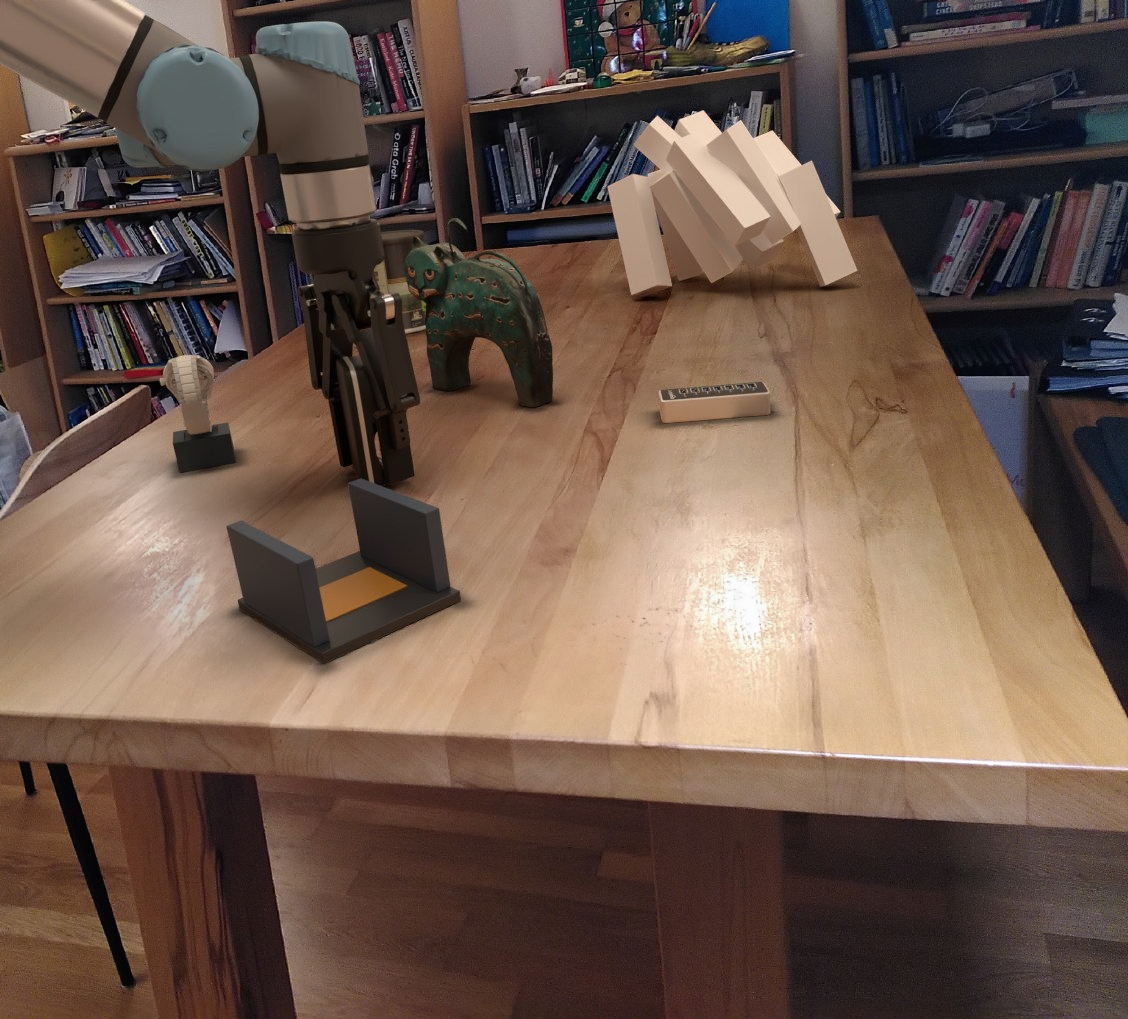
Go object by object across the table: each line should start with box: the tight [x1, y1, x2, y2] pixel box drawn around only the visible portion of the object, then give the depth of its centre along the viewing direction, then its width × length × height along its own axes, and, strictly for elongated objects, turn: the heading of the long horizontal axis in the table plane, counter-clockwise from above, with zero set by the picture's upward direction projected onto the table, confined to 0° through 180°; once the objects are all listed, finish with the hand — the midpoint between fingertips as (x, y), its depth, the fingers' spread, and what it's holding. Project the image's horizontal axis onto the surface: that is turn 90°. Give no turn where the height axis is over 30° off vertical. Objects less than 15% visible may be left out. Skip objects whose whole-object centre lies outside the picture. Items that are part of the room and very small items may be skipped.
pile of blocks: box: [607, 110, 858, 297], centre depth 165 cm, size 35×30×35 cm
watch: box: [159, 354, 237, 473], centre depth 105 cm, size 6×8×11 cm
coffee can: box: [371, 229, 426, 335], centre depth 158 cm, size 10×10×14 cm
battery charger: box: [335, 354, 387, 487], centre depth 96 cm, size 7×4×11 cm, turn 19°
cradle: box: [225, 478, 461, 664], centre depth 72 cm, size 12×11×7 cm
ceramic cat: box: [405, 217, 554, 408], centre depth 118 cm, size 20×6×20 cm, turn 45°
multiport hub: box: [658, 381, 771, 424], centre depth 107 cm, size 4×11×2 cm, turn 89°
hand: (376, 470), depth 98 cm, fingers closed on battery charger, 7 cm apart
